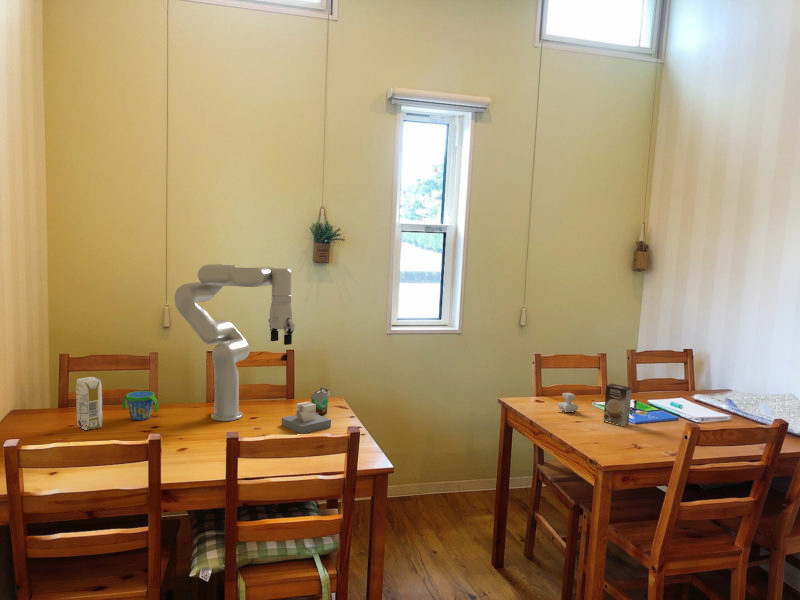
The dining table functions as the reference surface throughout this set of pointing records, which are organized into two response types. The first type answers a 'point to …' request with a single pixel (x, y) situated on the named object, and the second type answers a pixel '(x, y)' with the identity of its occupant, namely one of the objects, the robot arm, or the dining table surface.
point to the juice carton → (89, 403)
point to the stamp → (568, 403)
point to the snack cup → (140, 404)
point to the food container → (321, 400)
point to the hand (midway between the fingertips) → (281, 342)
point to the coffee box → (617, 404)
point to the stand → (306, 424)
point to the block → (306, 411)
